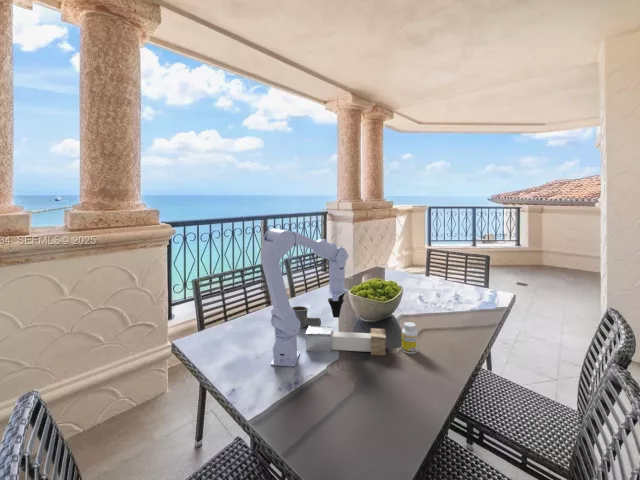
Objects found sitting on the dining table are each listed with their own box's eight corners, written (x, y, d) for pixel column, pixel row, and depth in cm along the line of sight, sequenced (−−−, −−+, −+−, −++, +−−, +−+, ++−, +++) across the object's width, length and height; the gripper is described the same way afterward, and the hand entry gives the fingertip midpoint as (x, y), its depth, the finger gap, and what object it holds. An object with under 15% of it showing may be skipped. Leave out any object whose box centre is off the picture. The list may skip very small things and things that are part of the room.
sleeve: (330, 352, 113) (330, 334, 112) (305, 350, 114) (305, 333, 113) (332, 343, 120) (332, 327, 119) (309, 342, 121) (308, 326, 120)
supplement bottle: (405, 345, 118) (406, 319, 116) (419, 350, 114) (420, 323, 113) (398, 351, 113) (399, 324, 112) (413, 355, 110) (414, 328, 109)
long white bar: (376, 352, 112) (376, 338, 112) (328, 349, 115) (327, 336, 114) (376, 346, 116) (376, 333, 116) (329, 344, 119) (329, 331, 118)
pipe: (318, 330, 131) (318, 312, 130) (289, 328, 134) (288, 309, 133) (322, 325, 137) (321, 306, 136) (293, 322, 140) (292, 305, 139)
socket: (385, 355, 110) (385, 337, 109) (370, 354, 111) (371, 336, 110) (384, 345, 117) (384, 328, 117) (370, 345, 118) (370, 328, 117)
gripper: (346, 283, 112) (346, 321, 114) (348, 273, 126) (348, 307, 128) (326, 283, 113) (326, 320, 115) (330, 273, 127) (331, 306, 129)
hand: (337, 313), depth 122 cm, fingers open, 7 cm apart
